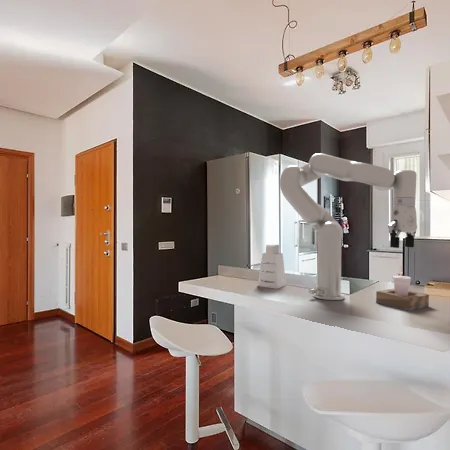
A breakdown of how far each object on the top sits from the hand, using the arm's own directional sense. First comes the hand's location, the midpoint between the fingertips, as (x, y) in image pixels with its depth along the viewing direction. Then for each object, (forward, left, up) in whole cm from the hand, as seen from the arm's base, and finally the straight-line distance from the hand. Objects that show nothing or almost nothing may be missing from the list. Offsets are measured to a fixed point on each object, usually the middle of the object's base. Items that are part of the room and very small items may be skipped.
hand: (402, 247), depth 126 cm
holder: (0, 0, -22) cm, 22 cm away
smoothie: (0, 0, -21) cm, 21 cm away
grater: (-22, +52, -22) cm, 60 cm away
